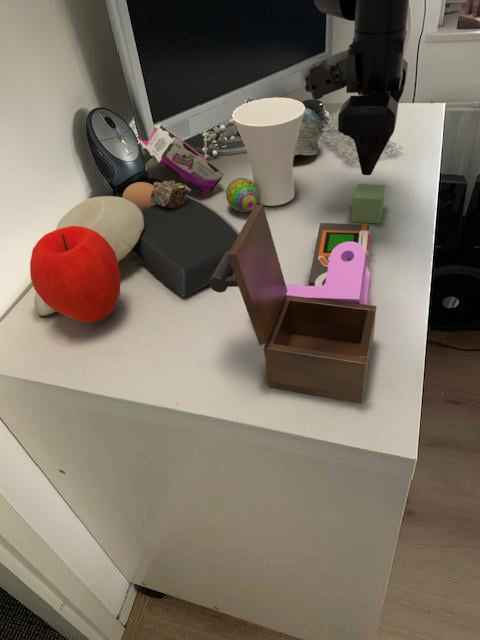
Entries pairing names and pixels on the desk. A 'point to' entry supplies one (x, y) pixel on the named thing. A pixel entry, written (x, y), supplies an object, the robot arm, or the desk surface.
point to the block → (368, 203)
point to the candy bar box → (180, 159)
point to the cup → (271, 144)
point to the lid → (254, 273)
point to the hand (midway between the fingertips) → (371, 158)
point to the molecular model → (220, 139)
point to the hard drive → (184, 243)
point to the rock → (169, 194)
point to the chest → (321, 348)
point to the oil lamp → (103, 227)
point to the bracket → (341, 277)
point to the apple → (76, 273)
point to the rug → (347, 141)
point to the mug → (308, 134)
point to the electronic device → (329, 240)
